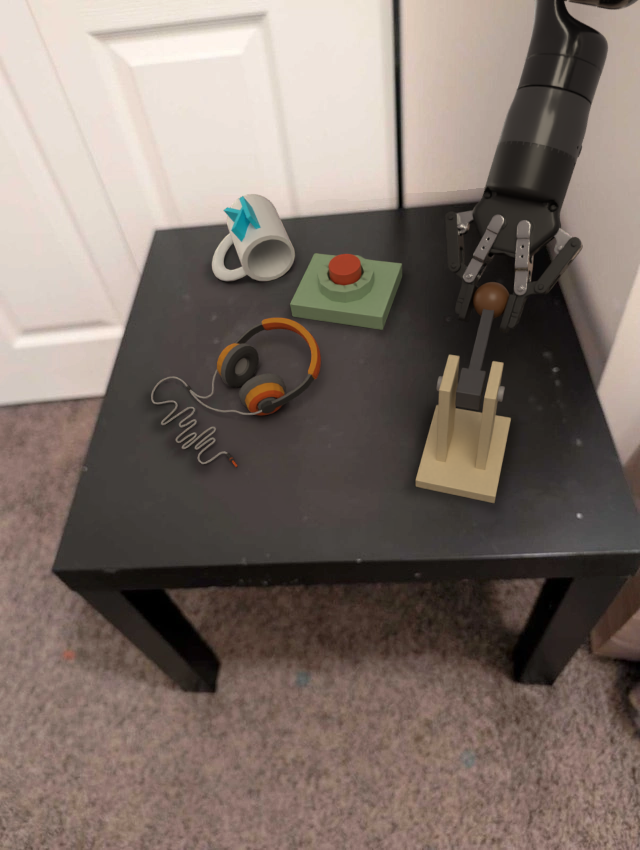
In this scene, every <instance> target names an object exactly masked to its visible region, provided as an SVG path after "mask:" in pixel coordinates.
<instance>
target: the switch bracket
mask: <svg viewBox="0 0 640 850" xmlns="http://www.w3.org/2000/svg"><path fill="white" fill-rule="evenodd" d="M490 366H491V367H490V369H489V375H488V378H487V384H486V387H485V388H486V389H485V393H484V398H483V405H482V412H481V411H474V410H467V409H464V408H456V407H457V406H455V400H456V389H457V385H458V381H459V368H460V355H454V354H448V356H447V360H446V364H445V367H444V371H443V375H442V376H441V375H440V376H438V378H437V383H436V391H437V392H438V404H436V405H435V409H434V412H433V415H432V419H431V424H430V426H429V430H428V434H427V436H426V437H427V438H426V441H425V444H424V448H423V452H422V455H421V458H420V462H419V467H418V470H417V474H416V477H415V487H416V488H419V489H425V490H430V491H434V492H439V493H444V494H448V495H454V496H458V497H463V498H467V499H472V500H476V501H482V502H485V503H492V504H495V502H496V497H497V492H498V486H499V483H500V482H499V481H500V477H501V472H502V466H503V461H504V456H505V451H506V445H507V441H508V436H509V431H510V426H511V420H512V417H508V416H503V415H497V408H498V403H499V402H500V403H502V402H503V399H504V394H505V389H506V387H505V386H504V385H501V383H502V376H503V370H504V362H502V361H501V362H500V361H496V360H493V361H492V362H491V365H490Z"/></svg>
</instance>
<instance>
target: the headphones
mask: <svg viewBox="0 0 640 850" xmlns="http://www.w3.org/2000/svg"><path fill="white" fill-rule="evenodd" d="M272 330H285V331H290V332H293V333H295V334H297V335H299V336H300V337H301V338H302V339H303V340H304V341H305V342H306V344H307V345H308V347H309V350H310V353H311V355H310V363H309V366H308V369H307V376H306V377H305V379H304V380H303V381H302V382H301V383H300V384H299V385H297V386H296V387H295V388H293V389H291V390H290V391H289V392H287V386H286V384H285V381H284V379H283V378H282V377H281V376H280V375H278V374H276V373H262V374H257V375H256V376H254V375H255V373H256V371H257V369H258V366H259V359H260V358H259V353H258V350H257V349H256V347H254V346H253V345H251V344H249V343H247V342H248V341H249V340H250V339H251V338H252V337H254V336H255V335H256V334H258V333H261V332H263V331H272ZM216 361H217V362H216V370H215V371H214V373H213V376H212V381H211V393H210V394H209V395H207V396H206V395H205V396H202V395H199V394H197V393H196V392H195V391H193V388H191V386H190V385H188V384H187V383H186V382H185V380H184V379H182V378H180V377H177V376H173V375H171V376H167V377H164V378H162V379H160V380H159V381H158V382H157V383H156V385H155V386H154V387H153V389H152V391H151V394H150V397H151V398H150V399H151V402H152V404H154V405H163V404H168V403H174V405H175V407H174V408H173V409H172V410H171V412H170V413H169V414H168V415H167V416H165V417H164V418H163V419H162V420H161V422H160V425H161V426H165V425H167V424H169V423H170V422H172V421H174V420H175V419H177V418H178V417H179V416H181V415H182V414H183V413H185V412H186V411H188V410H190V409H192V411H191V413H190V414H189V415H187V416H186V417H185V418H183V419H181V420H180V421H179V423H178V426H179V428H185V427H187V426H189V425H190V426H189V427H187V428H186V429H184V430H183V431H181V433H179V434H178V435H177V436H176V438H175V442H176V443H177V444H181V443H182V442H184V441H186V439H188V438H190V437H191V438H190V439H189V440H188V441H186V442H184V444H182V446H181V449H182V450H186V449H188V448H190V447H191V446H192V445H194V444H195V443H196V442H197V441H198V440H199V439H200V438H201V437H203V435H205V434H206V433H208V432H209V431H211V432H210V433H209V434H208V435H206V436H205V437H203V439H201V440H200V441H199V442H198V443H196V445H195V446H194V450H196V451H198V450H200V449H201V448H202V447H203V446H205V445H206V444H207V445H206V446H205V447H204V448H202V449H201V451H199V453H198V455H197V461H198V463H200V464H201V465H207V464H209V463H211V462H212V461H214V460H215V459H217V458H218V457H219V456H220V455H222V454H224V455H225V456H226V458H227V460H228V461H229V462H230V463H232V464H233V465H234V467H235V468H238V464H237V463H236V461H235V459H234V457H233V456H232V455H231V454H230V453H229V452H227V451H220V452H218V453H217V454H216V455H214V456H213V457H211V458H210V459H208V460H207V461H201V455H202V454H203V453H204V452H205V451H206V450H208V449H209V448H210V447H211V446H212V445H214V444H215V443H216V440H217V439H216V438H215V437H211V436H213V434H215V433H216V431H217V427H216V426H210V427H208V428H207V429H205V430H204V431H203V432H202V433H200V434H199V435H198V433H197V432H195V431H194V432H191V433H189V434H187V435H186V436H185V437H183V438H182V439H180V440H179V438H181V437H182V436H183V435H184V434H185V433H186V432H188V431H189V430H191V429H192V428H193V427H195V425H196V424H197V423H198V421H197V419H191V420H190V421H188V422H186V423H185V424H183V423H184V422H185V421H187V420H188V419H190V418H191V417H192V416H193V415H194V414H195V412H196V408H195V407H194V406H187V407H186V408H184V409H183V410H181V411H180V412H178V413H177V414H175V415H174V416H172V415H173V414H174V413H175V412H176V410H178V406H179V405H178V402H177V401H176V400H172V399H171V400H166V401H165V400H164V401H158V402H156V401H155V400H154V394H155V391H156V389H157V388H158V386H160V384H161V383H164V382H165V381H166V380H170V379H176V380H178V381H180V382H181V383H183V385H184V386H185V389H186V390H187V392H188V393H190V394H191V396H193V398H194V399H195V400H196V401H197V402H198V403H199V404H200V405H202V406H203V407H205V408H207V409H209V410H212V411H215V412H219V413H236V414H240V415H244V416H253V415H255V416H267V415H271V414H274V413H275V412H277V411H278V410H279V409H281V408H282V406H283V405H286V404H288V403H289V402H291V401H292V400H294V399H296V398H297V397H299V396H300V395H301V394H302V393H305V391H306V390H307V389H308V388H309V387H310V386H311V385H312V383H313V382H314V380H317V379H318V377H319V375H320V372H321V367H322V356H321V350H320V346H319V344H318V342H317V340H316V339H315V338H314V336H313V335H312V333H310V331H309V330H307V328H305V327H304V326H303V325H302V324H301V323H299V322H297V321H295V320H293V319H290V318H286V317H268V318H264V319H262V321H261V322H258V323H257V324H255V325H253V326H251V327H250V328H248V329H247V330H245V331H244V333H242V334H241V335H240V336H239V337H238V338H237V339H236V340H235V341H234V342H233V343H231V344H228V345H227V346H226V347H225V348H223V349H222V351H221V352H220V354H219V356H218V358H217V360H216ZM217 374H218V375H219V376H220V378H221V380H222V381H223V383H225V384H226V385H227V386H229V387H231V388H233V389H234V388H239V391H238V396H239V400H240V402H241V405H242V406H243V407H245V408H246V409H247V410H248V411H249V412H242V411H239V410H236V409H227V410H222V409H219V408H215V407H214V408H213V407H211V406H209V405H207V404H206V403H204V402H203V401H202V400H200V399H209V398H210V397H212V396H213V395H214V393H215V381H216V376H217ZM286 392H287V393H286ZM171 416H172V417H171ZM170 417H171V418H170ZM169 418H170V419H169ZM167 419H168V420H167ZM192 423H193V424H192ZM193 435H194V436H193ZM192 436H193V437H192ZM211 441H212V442H211ZM209 442H210V443H209ZM208 443H209V444H208Z"/></svg>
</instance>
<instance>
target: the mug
mask: <svg viewBox="0 0 640 850" xmlns="http://www.w3.org/2000/svg"><path fill="white" fill-rule="evenodd" d="M223 212H224V213H225V214H226V225H227V229H228V232H229V233H228V234H227V235H225V236H224V238H223V239H222V240H221V241H220V243H219V244H218V246H217V247H216V249H215V251H214V254H213V256H212V259H211V269H212V273H213V274H214V276H215V277H216V278H217V279H219V280H220V281H223V282H234V281H237V280H240V279H242V278H245V277H246V276H248V277H249V278H251V279H252V280H256V281H259V282H270V281H273V280H277V279H279V278H280V277H282V276H284V275H285V274H286V273H287V272H288V271H289V270H290V269H291V267H292V266H293V264H294V261H295V259H296V253H295V248H294V246H293V243H292V241H291V239H290V237H289V234H288V232H287V231H286V228H285V225H284V224H283V222H282V219H281V217H280V215H279V213H278V210H277V207H275V205H274V203H273V202H272V201H271V200H270V199H268V198H267V197H266V196H264V195H261V194H257V193H249V194H245V195H242V196H239V197H238V198H237V199H236V200H234V201H233V202H232V204H231V205H230V207H229V206H227V207H226V208H224V209H223ZM232 245H234V248H235V251H236V254H237V256H238V259H239V262H240V265H241V266H240V267H237V268H235V269H228V268H226V266H225V257H226V254H227V252H228V251H229V249H231V247H232Z"/></svg>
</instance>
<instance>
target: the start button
mask: <svg viewBox="0 0 640 850" xmlns="http://www.w3.org/2000/svg"><path fill="white" fill-rule="evenodd" d="M355 255H356V254H352V253H341V254H337V255H334V256H335V257H334V258H332V259H331V261H330V262H329V274H330V279H331V280H332V281H333V282H334V283H335V284H338V285H349V284H353V283H355V282H357V281H358V280H359V279H360V277H361V274H362V273H361V262H360V260H359V258H358V257H356V256H355Z"/></svg>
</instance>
